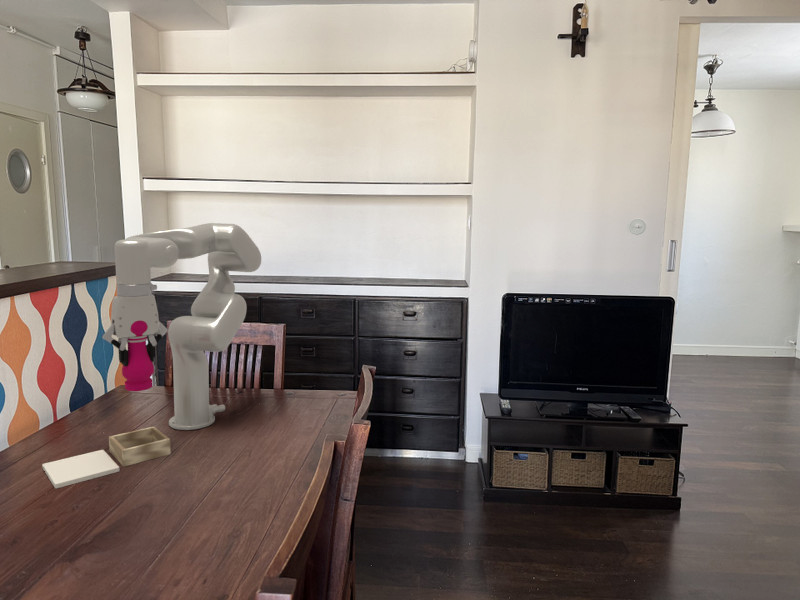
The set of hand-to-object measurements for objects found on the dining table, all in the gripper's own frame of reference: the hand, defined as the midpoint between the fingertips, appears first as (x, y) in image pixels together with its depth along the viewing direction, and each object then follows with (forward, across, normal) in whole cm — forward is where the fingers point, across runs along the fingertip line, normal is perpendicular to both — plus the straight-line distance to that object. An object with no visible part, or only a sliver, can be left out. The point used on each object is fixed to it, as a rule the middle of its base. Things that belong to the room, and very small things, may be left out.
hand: (137, 362), depth 134 cm
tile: (+23, +14, +1) cm, 27 cm away
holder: (+24, +1, 0) cm, 24 cm away
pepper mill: (+7, 0, 0) cm, 7 cm away
